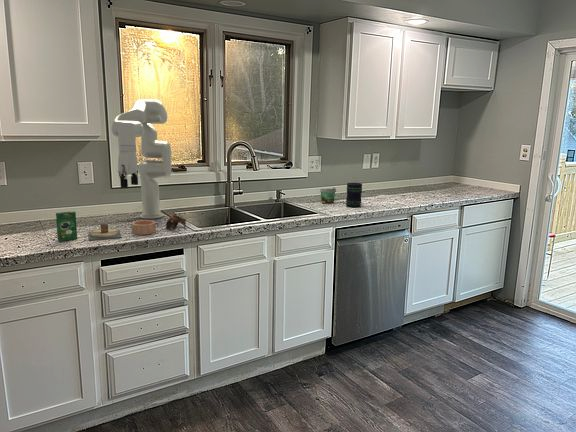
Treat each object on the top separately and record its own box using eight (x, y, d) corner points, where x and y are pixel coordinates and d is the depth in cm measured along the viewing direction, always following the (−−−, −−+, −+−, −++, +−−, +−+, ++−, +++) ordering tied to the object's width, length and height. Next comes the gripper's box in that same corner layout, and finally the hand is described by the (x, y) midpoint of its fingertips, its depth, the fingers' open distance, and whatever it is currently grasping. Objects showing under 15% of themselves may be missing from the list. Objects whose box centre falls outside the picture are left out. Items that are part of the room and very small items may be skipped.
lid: (91, 232, 222) (90, 222, 220) (117, 230, 226) (116, 220, 225) (91, 238, 211) (90, 227, 210) (119, 236, 216) (118, 225, 215)
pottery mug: (164, 227, 238) (171, 213, 239) (181, 235, 240) (188, 221, 241) (163, 227, 226) (170, 212, 227) (180, 235, 228) (188, 220, 229)
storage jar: (343, 205, 301) (344, 183, 298) (355, 204, 305) (357, 182, 302) (350, 208, 292) (352, 185, 289) (364, 207, 296) (365, 184, 293)
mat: (88, 233, 222) (88, 232, 222) (119, 230, 228) (119, 229, 228) (89, 240, 210) (89, 239, 210) (121, 238, 215) (121, 236, 215)
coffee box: (75, 237, 215) (73, 210, 212) (78, 238, 213) (75, 211, 210) (57, 240, 209) (54, 212, 206) (59, 242, 207) (57, 213, 204)
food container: (325, 205, 301) (326, 190, 299) (319, 203, 306) (320, 188, 304) (339, 203, 308) (340, 188, 306) (333, 201, 313) (333, 187, 311)
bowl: (131, 230, 229) (130, 220, 228) (154, 228, 233) (153, 219, 232) (133, 236, 219) (133, 226, 218) (157, 234, 223) (156, 224, 222)
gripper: (129, 147, 219) (131, 183, 222) (109, 150, 202) (112, 188, 205) (144, 148, 217) (145, 183, 221) (125, 150, 201) (127, 189, 204)
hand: (129, 186), depth 213 cm, fingers open, 9 cm apart
